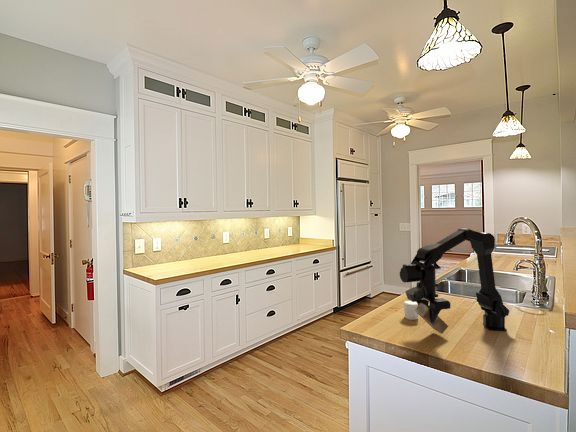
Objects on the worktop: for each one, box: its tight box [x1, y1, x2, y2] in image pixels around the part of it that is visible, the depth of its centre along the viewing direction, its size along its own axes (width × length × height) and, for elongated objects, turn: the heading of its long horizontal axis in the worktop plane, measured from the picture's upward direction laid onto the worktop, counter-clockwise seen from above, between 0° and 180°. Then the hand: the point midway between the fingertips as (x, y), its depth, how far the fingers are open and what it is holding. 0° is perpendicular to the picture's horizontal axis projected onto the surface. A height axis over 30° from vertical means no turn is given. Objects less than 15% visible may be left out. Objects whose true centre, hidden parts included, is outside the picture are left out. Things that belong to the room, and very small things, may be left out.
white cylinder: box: [402, 299, 419, 321], centre depth 139 cm, size 7×7×7 cm
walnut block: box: [415, 303, 449, 335], centre depth 120 cm, size 4×5×12 cm
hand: (427, 319), depth 120 cm, fingers closed on walnut block, 5 cm apart
